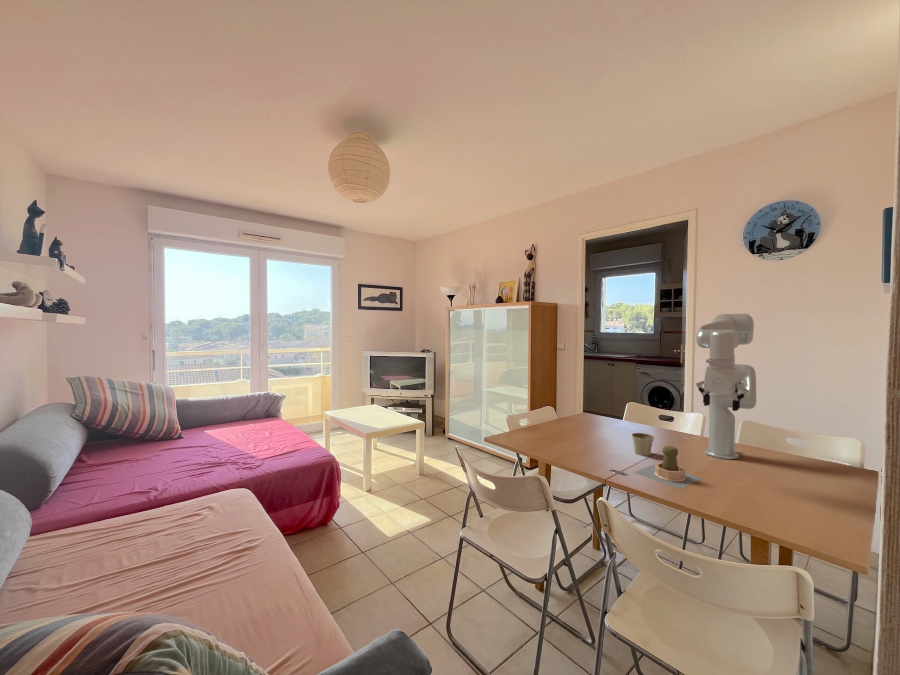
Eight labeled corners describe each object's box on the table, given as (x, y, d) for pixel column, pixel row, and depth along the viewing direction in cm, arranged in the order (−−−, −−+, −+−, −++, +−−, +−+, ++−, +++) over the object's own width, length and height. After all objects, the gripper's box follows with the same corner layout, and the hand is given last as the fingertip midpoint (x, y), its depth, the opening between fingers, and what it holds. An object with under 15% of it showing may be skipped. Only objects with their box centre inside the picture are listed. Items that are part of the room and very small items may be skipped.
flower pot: (658, 458, 166) (658, 439, 166) (637, 458, 166) (637, 439, 166) (647, 451, 175) (648, 432, 175) (627, 451, 176) (627, 432, 175)
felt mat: (655, 464, 158) (655, 464, 158) (702, 479, 143) (702, 478, 143) (633, 473, 149) (633, 472, 149) (681, 490, 134) (681, 488, 134)
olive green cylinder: (676, 472, 147) (677, 445, 147) (680, 478, 142) (681, 450, 141) (659, 470, 149) (659, 443, 149) (662, 476, 144) (663, 448, 143)
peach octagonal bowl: (663, 469, 153) (663, 460, 152) (690, 477, 144) (690, 468, 144) (649, 474, 147) (649, 465, 147) (676, 484, 138) (677, 474, 138)
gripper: (692, 362, 148) (691, 404, 149) (743, 366, 133) (742, 414, 134) (701, 360, 152) (701, 402, 153) (753, 364, 137) (752, 411, 138)
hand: (720, 407), depth 143 cm, fingers open, 9 cm apart
